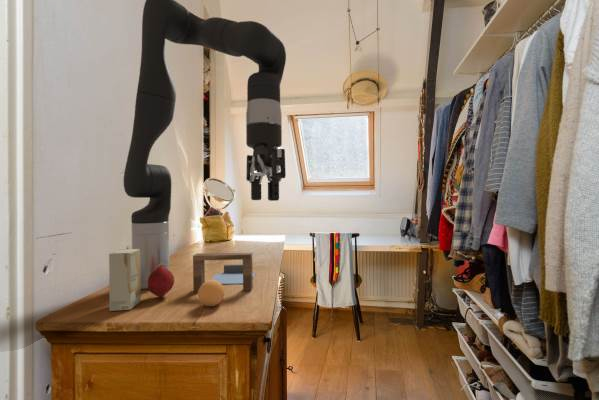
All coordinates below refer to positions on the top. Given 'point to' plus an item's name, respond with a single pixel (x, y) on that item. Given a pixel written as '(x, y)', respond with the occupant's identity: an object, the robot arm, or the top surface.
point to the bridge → (201, 257)
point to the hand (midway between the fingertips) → (264, 200)
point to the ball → (211, 293)
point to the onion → (160, 281)
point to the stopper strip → (233, 268)
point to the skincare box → (124, 279)
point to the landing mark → (229, 278)
